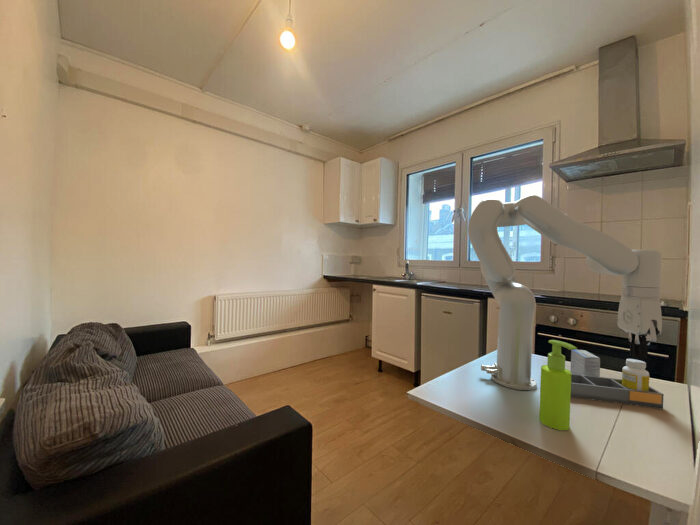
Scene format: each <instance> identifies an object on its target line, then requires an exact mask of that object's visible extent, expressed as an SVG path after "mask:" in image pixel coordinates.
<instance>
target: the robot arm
mask: <svg viewBox="0 0 700 525" xmlns="http://www.w3.org/2000/svg"><path fill="white" fill-rule="evenodd" d="M524 225H526V226H528V227H529V228H531V229H533V231H535V232H536V233H538V234H540V235H541V236H543V237H544V238H545V239H547V240H548V241H550V242H551V243H553V244H555V245H558V246H560V247H564V248H568V249H570V250H575V251H576V252H579V253H581V254H583V255H584V256H586V259H585V265H586V267H587V268H588V269H589V270H590V271H592V272H593V273H596V274H600V275H612V276H622V277H621V278H622V279H621V280H622V281H621V295H620V296H621V297H620V300H619V304H618V311H617V322H616V323H617V324H616V325H617V327H618V328H620V330H621V329H622V330H623V332H624V333H626V334H627V336H628V341H629V356H630V357H633V358H635V359H648V356H649V346H650V344H651V342H658V338H657V337H659V336H661V334H662V330H663V329H662V328H663V318H662V306H661V302H660V300H661V283H662V282H661V280H662V254H661V252H660V251H659V250H657V249H646V248H645V249H643V248H641V249H631V248H630V247H628V246H627V245H626V244H624V243H623V242H621V241H619V240H618V239H616V238H614V237H613V236H611V235H609V234H608V233H605V232H604V231H601V230H600V229H596V228H595V227H592V226H590V225H588V224H586V223H583V222H581V221H578V220H576V219H574V218H573V217H572V216H570V215H568V214H566V213H565V212H564V211H562V210H561V209H560V208H557V207H556V206H554V205H553V204H551V203H550V202H548V201H547V200H545V199H544V198H543V197H540V196H538V195H535V194H528V195H525V196H523V197H521V198H519V199H517V200H516V201H511V202H502V201H501V200H499V199H497V198H495V197H489V198H485V199H483V200H481V201H480V202H478V205H477V206H475V208H474V210H473V211H472V213H471V215H470V218H469V220H468V228H467V232H468V233H467V234H468V239H469V242H470V244H471V246H472V248H473V251H474V252H475V255H476V257H477V259H478V261H479V263H480V272H481V275H482V277H483V279H484V280H485V282H486V285H487V287H488V288H489V290H490V292H491V294H492V296H493V298H494V299H495V301H496V302H497V304H498V305H499V311H498V320H497V349H496V351H497V352H496V362H494V363H493V364H491V365H487V364H481V365H480V371H483V372H486V374H489V375H491V376H490V377H491V380H493V381H494V383H497V384H498V385H500V386H503V387H506V388H508V389H512V390H518V391H519V390H520V391H532V390H534V389H536V388H537V386H538V385H537V381H536V380H535V379H534V378H533V377H532V355H533V353H532V350H533V329H534V328H533V326H534V316H535V313H536V311H535V310H536V304H537V303H536V298H535V294H534V293H533V291H532V290H531V289H530V288H529V287H528V286H526V285H524V284H521V283H520V281H519V279H518V278H517V276H516V265H515V262H514V260H513V259H512V258H511V256H510V254H509V253H508V251H507V249H506V247H505V245H504V244H503V242H502V240H501V237H500V235H499V233H498V228H505V227H515V226H516V227H517V226H518V227H519V226H524Z"/></svg>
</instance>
